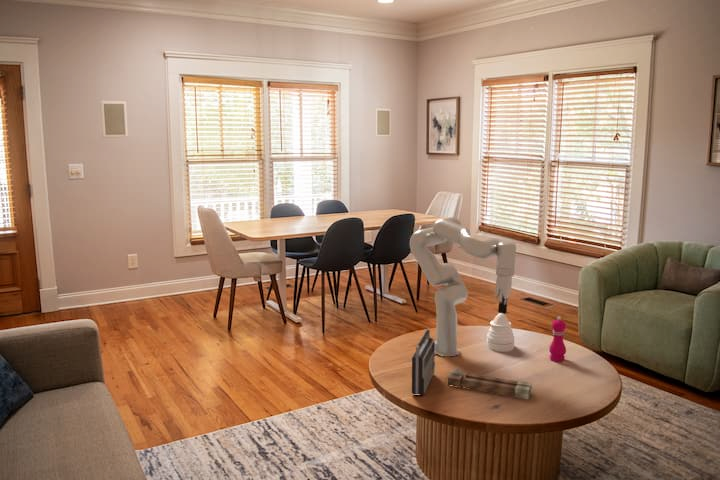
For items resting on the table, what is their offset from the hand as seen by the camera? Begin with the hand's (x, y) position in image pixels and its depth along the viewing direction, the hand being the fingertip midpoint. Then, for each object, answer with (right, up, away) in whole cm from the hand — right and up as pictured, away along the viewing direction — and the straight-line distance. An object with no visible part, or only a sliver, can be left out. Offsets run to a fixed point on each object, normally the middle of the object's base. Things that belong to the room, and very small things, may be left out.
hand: (502, 312), depth 258 cm
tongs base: (-9, -28, -16) cm, 34 cm away
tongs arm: (-6, -28, -16) cm, 33 cm away
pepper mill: (+28, -23, +14) cm, 39 cm away
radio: (-34, -28, -11) cm, 46 cm away
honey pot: (+6, -20, +31) cm, 37 cm away
